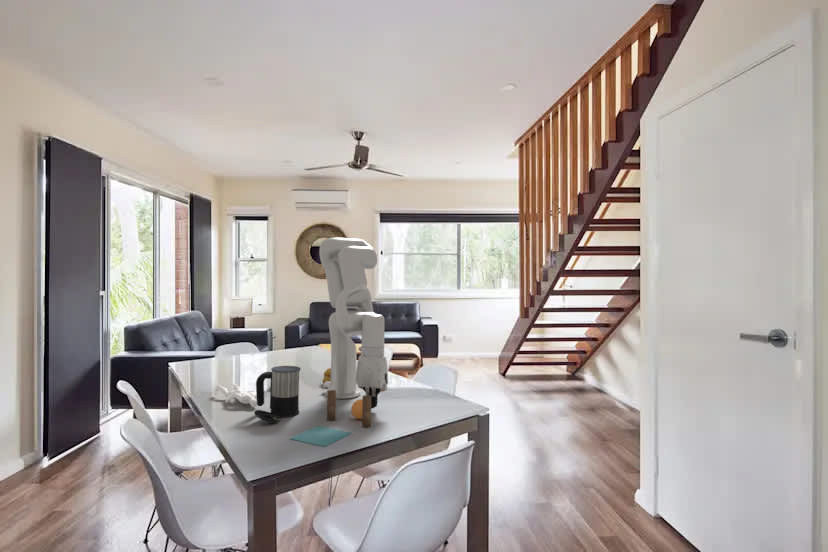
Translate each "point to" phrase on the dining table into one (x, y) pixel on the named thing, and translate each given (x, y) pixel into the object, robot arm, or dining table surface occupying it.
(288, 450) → the dining table surface
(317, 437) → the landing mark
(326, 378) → the bread roll
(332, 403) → the post
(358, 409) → the ball
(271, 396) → the milk frother
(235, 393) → the white crumpled cloth
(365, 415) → the post
